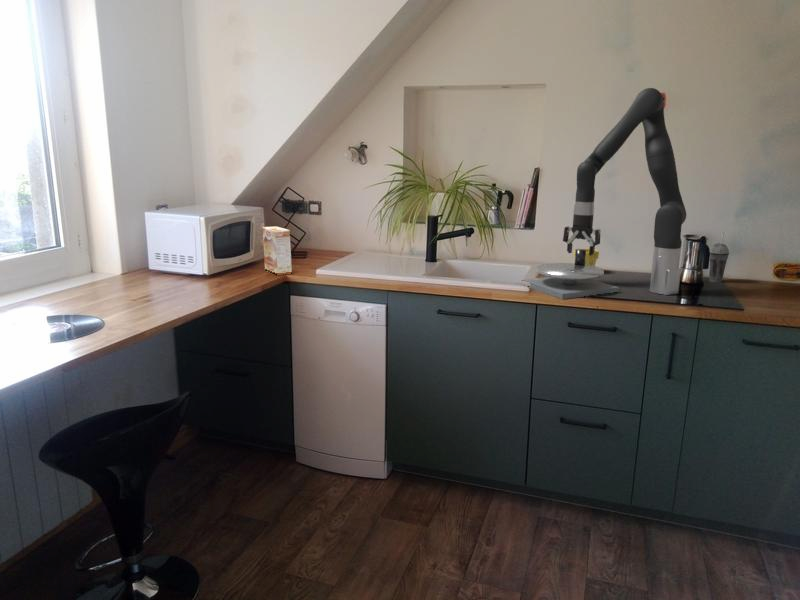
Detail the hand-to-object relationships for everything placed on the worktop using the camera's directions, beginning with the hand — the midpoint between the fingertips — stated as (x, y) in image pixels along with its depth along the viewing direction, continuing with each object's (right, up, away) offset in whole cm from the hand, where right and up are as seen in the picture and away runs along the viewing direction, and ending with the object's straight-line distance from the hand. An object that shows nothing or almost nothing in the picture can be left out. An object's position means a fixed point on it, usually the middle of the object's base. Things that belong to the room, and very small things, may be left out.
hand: (580, 254), depth 240 cm
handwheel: (-6, -8, -7) cm, 12 cm away
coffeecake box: (-126, -6, +26) cm, 128 cm away
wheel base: (-6, -14, -5) cm, 16 cm away
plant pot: (+10, -6, +25) cm, 28 cm away
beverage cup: (+58, -11, +7) cm, 59 cm away
